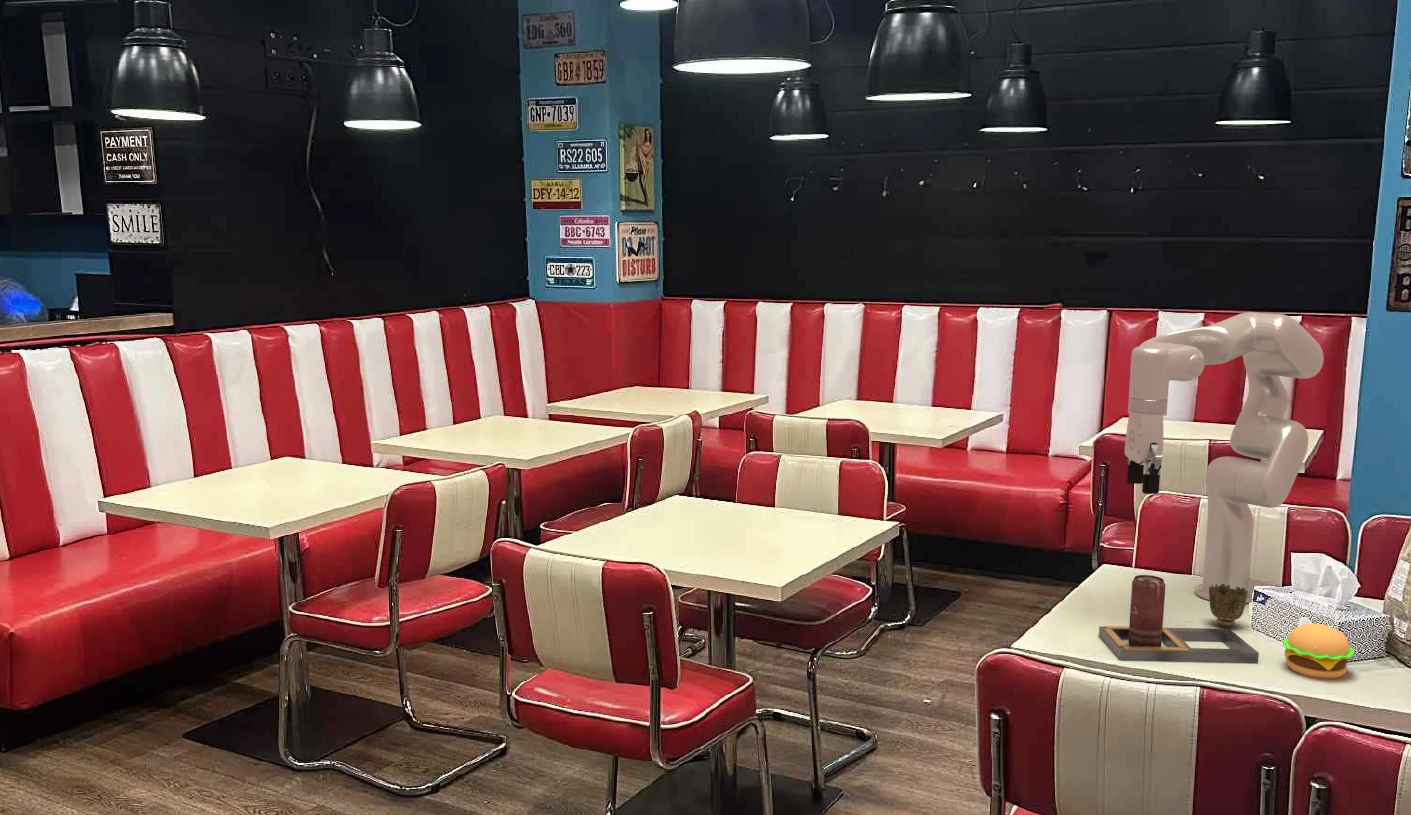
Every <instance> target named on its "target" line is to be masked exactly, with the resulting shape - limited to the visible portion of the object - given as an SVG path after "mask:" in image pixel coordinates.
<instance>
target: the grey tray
mask: <svg viewBox="0 0 1411 815" xmlns="http://www.w3.org/2000/svg"><path fill="white" fill-rule="evenodd" d="M1098 637H1099V638H1100V639H1101V641H1102V642H1103V643H1104V644H1105V645H1106V646H1107V647H1108V649H1110V651H1111V652H1112V653H1113V654H1114V655H1115V657H1117V659H1118V660H1119V661H1139V662H1182V663H1183V662H1186V663H1189V662H1190V663H1191V662H1193V663H1235V664H1236V663H1238V664H1239V663H1242V664H1259V654H1260V653H1259V652H1258V651H1257V650H1256V649H1254V647H1252V646H1251V645H1250V644H1249V643H1247V642H1246V641H1245V640H1243V639H1242V638H1241V637H1240V636H1239V635H1238V634H1236V633H1235V631H1232V629H1230V628H1207V627H1206V628H1203V627H1200V628H1199V627H1198V628H1197V627H1192V628H1191V627H1165V626H1163V628H1162V643H1164V644H1165V645H1166V646H1161V647H1137V646H1130V645H1129V646H1128V644H1126V642H1124V641H1125V640H1126V641H1128V637H1129V626H1128V625H1127V626H1126V625H1125V626H1124V625H1123V626H1122V625H1104V626H1103V625H1102V626H1101V625H1100V626H1099V627H1098ZM1123 640H1124V641H1123ZM1186 642H1223V644H1225V645H1226V646H1227V647H1228V648H1210V647H1209V648H1206V647H1205V648H1203V647H1201V648H1200V647H1191V646H1190V645H1188V643H1186Z"/></svg>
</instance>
